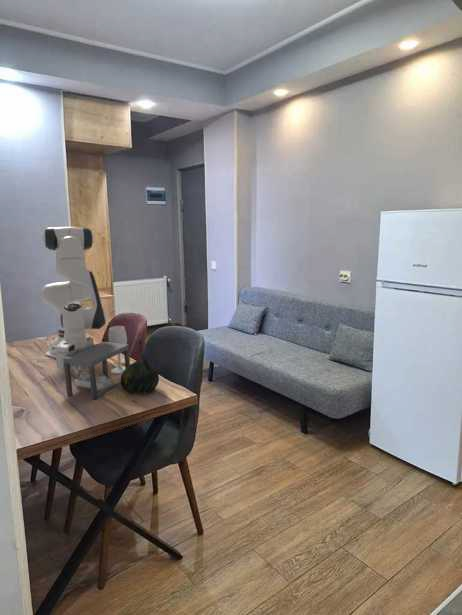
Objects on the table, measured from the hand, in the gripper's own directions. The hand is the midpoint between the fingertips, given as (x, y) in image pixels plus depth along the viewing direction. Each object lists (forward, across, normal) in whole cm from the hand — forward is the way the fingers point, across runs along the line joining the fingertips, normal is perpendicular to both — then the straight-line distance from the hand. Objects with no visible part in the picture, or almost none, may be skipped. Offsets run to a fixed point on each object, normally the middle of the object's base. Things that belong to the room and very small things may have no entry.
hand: (78, 372), depth 181 cm
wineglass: (+5, -19, +7) cm, 21 cm away
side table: (+5, 0, +12) cm, 12 cm away
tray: (+5, 0, +8) cm, 9 cm away
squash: (+4, -2, +31) cm, 31 cm away
